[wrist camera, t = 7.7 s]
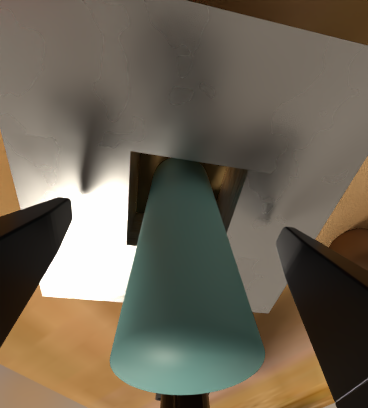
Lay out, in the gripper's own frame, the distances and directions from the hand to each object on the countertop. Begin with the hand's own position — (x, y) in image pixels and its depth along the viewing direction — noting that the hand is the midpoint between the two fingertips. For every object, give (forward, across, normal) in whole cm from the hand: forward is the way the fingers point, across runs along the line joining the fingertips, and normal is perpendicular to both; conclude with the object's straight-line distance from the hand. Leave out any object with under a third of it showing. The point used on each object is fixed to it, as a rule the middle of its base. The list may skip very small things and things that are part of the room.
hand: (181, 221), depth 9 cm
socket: (+4, 0, 0) cm, 4 cm away
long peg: (+4, 0, 0) cm, 4 cm away
